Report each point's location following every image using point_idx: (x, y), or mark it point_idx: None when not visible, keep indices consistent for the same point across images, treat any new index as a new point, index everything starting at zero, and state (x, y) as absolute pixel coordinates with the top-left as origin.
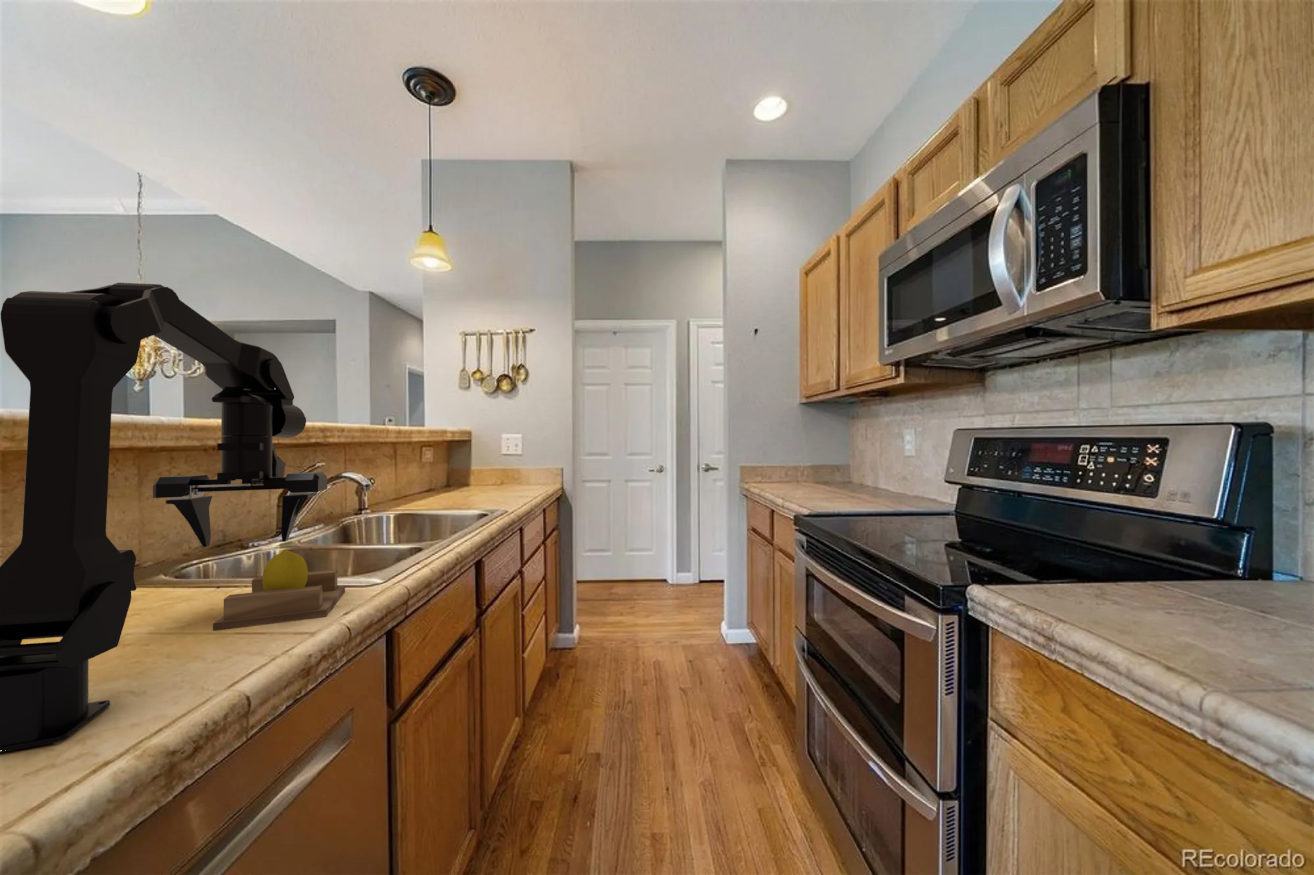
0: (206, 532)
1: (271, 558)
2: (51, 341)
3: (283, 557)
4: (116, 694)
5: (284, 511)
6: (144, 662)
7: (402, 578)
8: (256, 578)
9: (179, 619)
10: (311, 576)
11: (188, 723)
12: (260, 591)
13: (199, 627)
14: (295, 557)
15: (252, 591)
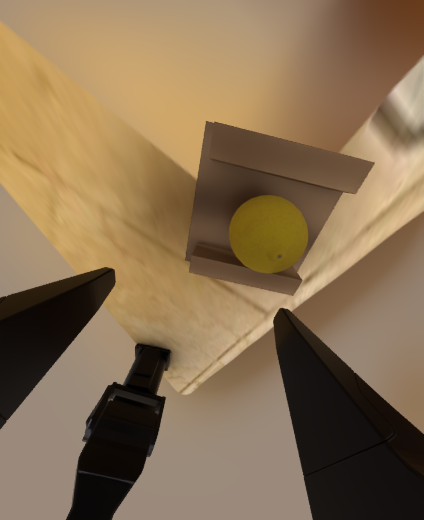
0: (85, 308)
1: (246, 246)
2: None
3: (267, 269)
4: (166, 339)
5: (307, 457)
6: (159, 302)
7: None
8: (215, 144)
9: (133, 176)
10: (311, 183)
11: (208, 376)
12: (223, 162)
13: (170, 234)
14: (290, 265)
15: (211, 159)
